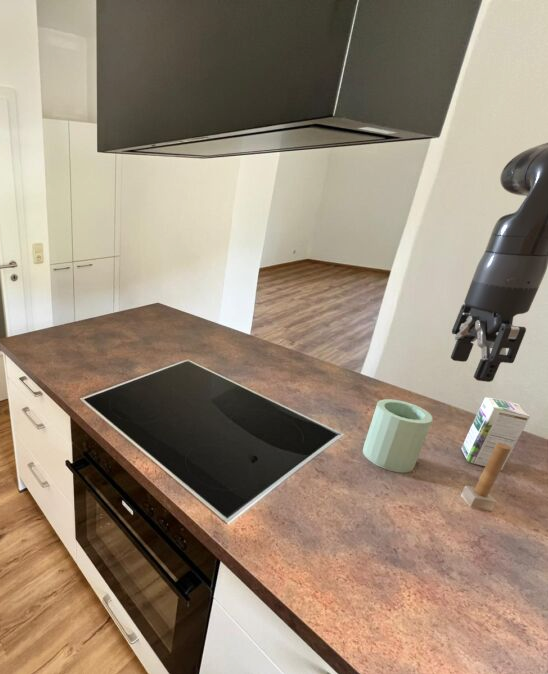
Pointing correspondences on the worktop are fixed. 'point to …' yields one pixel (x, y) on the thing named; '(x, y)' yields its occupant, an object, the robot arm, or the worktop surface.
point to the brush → (486, 480)
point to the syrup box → (494, 429)
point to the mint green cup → (396, 435)
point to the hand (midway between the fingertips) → (469, 369)
